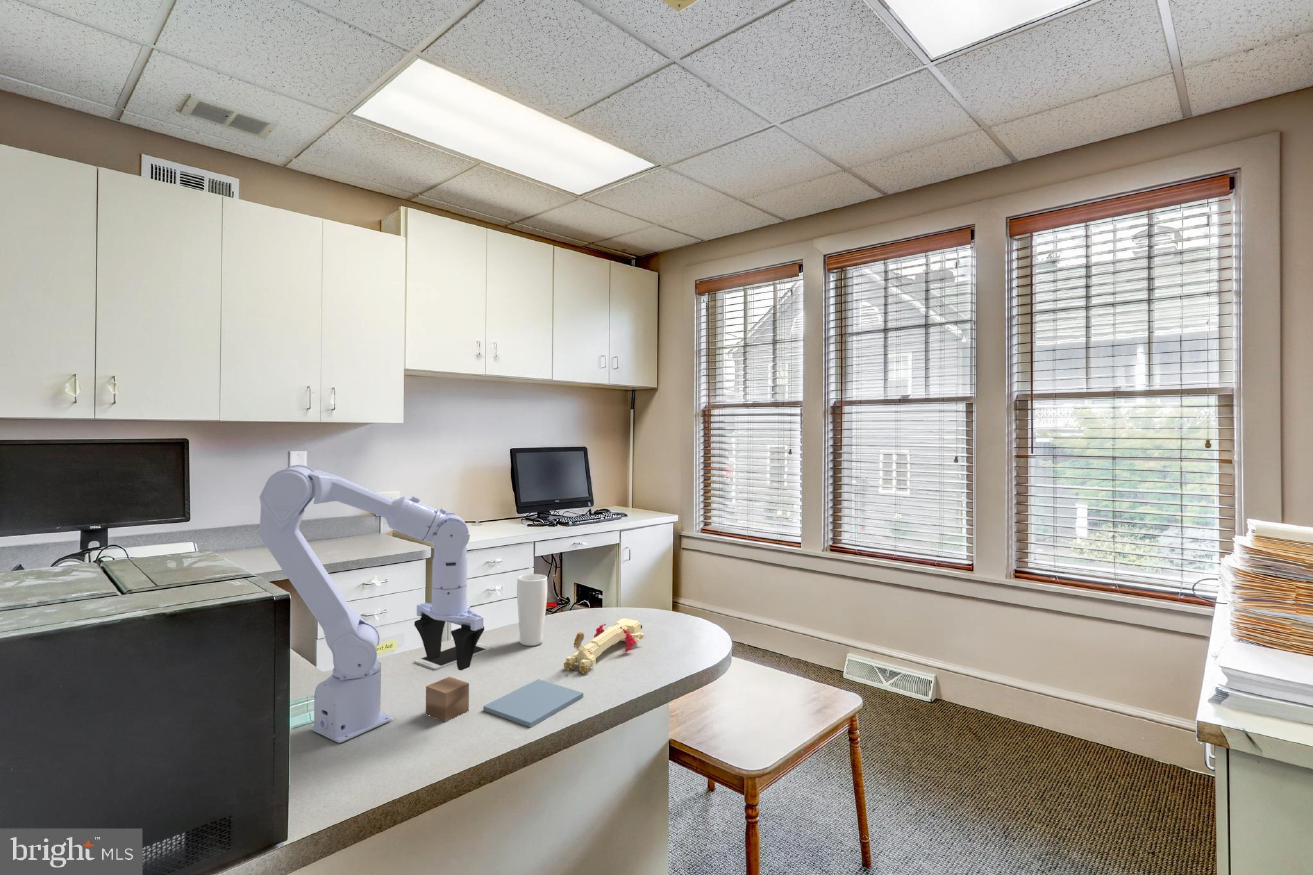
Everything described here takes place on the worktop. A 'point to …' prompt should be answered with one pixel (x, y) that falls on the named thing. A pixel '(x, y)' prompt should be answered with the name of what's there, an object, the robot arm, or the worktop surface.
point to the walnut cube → (447, 699)
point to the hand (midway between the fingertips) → (448, 663)
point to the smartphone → (449, 657)
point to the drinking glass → (531, 608)
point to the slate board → (533, 702)
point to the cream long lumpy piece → (603, 643)
